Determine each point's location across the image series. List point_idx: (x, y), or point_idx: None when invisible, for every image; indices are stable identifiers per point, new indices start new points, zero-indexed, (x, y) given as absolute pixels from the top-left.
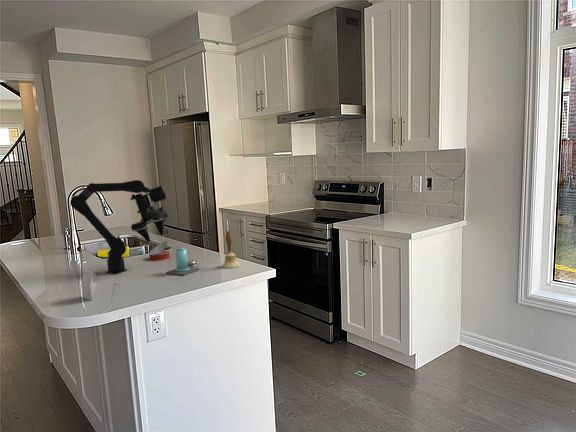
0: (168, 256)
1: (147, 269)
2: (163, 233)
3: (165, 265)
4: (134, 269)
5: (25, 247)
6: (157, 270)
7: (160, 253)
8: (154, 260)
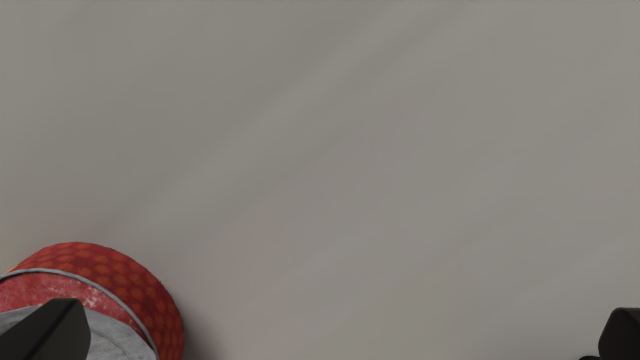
0: (52, 251)
1: (521, 173)
2: (28, 315)
3: (328, 80)
4: (531, 308)
5: None
6: (559, 20)
7: None
8: (180, 324)
